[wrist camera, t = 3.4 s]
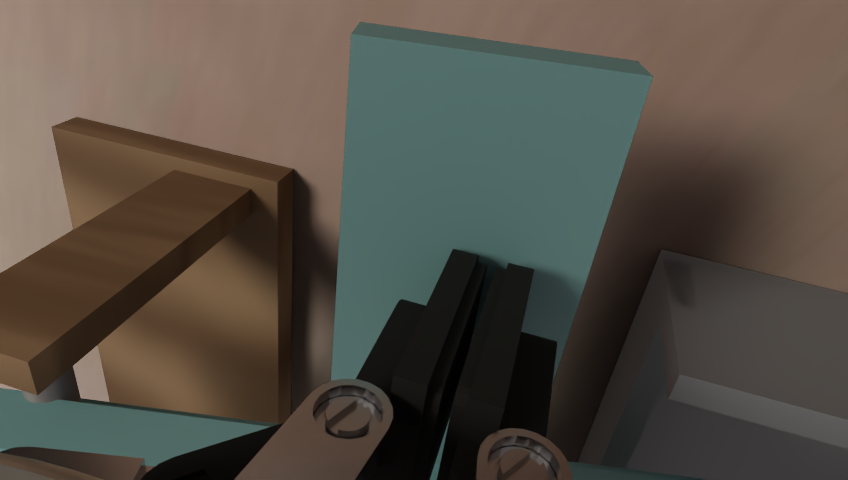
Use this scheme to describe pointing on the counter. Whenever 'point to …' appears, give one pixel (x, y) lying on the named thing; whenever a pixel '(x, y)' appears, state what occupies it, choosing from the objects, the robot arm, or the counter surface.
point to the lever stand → (160, 278)
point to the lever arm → (424, 214)
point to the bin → (728, 378)
